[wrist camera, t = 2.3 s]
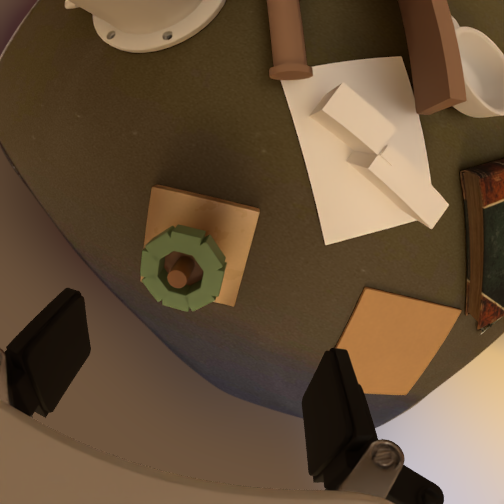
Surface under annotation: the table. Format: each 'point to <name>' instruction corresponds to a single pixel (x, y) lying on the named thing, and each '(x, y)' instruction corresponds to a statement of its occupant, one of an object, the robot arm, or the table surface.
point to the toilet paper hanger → (418, 40)
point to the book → (484, 240)
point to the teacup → (480, 73)
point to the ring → (190, 244)
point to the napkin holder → (363, 147)
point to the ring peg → (214, 223)
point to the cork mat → (394, 339)
